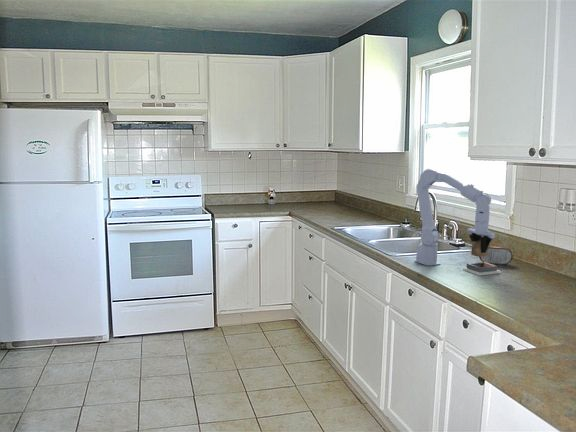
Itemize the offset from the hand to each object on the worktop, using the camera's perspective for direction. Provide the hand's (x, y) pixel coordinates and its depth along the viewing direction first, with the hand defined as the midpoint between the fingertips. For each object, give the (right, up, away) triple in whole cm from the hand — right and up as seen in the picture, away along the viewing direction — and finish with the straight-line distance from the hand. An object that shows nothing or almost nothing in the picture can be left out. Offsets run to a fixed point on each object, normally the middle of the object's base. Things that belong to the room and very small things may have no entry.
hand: (479, 251), depth 238 cm
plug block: (0, -2, 0) cm, 2 cm away
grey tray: (+1, -9, -1) cm, 9 cm away
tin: (+12, -7, +15) cm, 20 cm away
